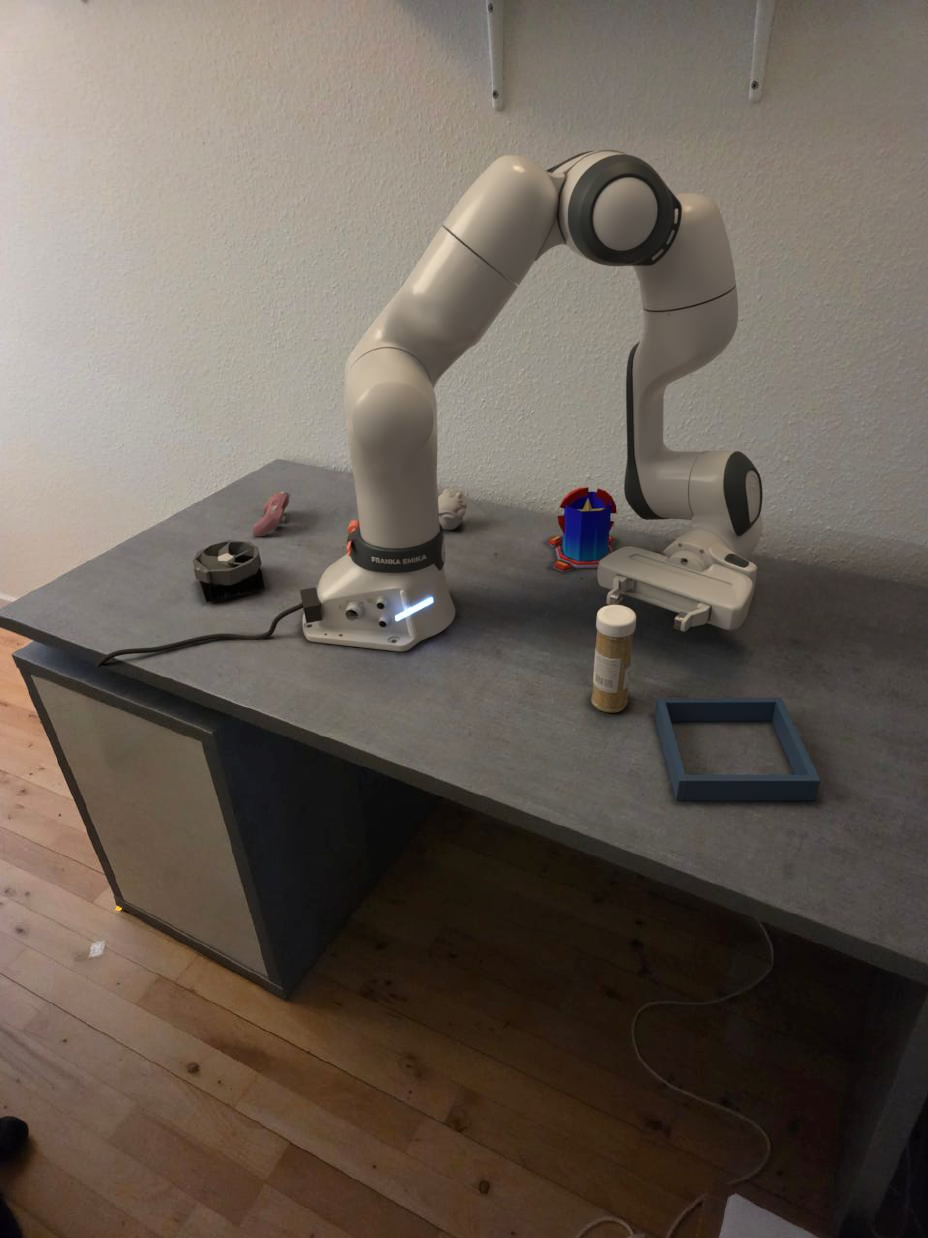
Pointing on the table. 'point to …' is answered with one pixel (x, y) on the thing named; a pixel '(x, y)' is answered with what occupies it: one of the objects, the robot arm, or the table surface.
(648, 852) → the table surface
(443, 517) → the frog figurine
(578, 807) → the table surface
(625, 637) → the sprinkles bottle
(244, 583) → the cpu cooler
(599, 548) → the fantasy tower
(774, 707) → the square frame
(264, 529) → the pink lumpy piece
